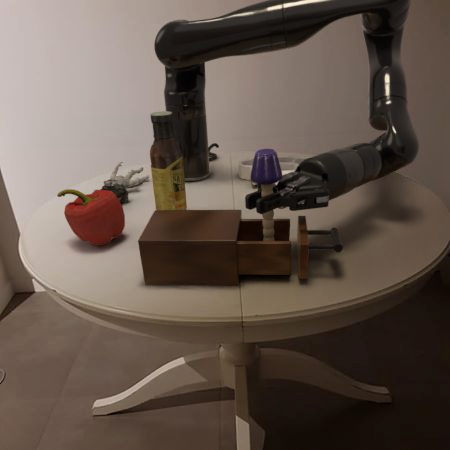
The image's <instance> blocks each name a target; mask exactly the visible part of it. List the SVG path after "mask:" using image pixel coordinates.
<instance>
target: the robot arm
mask: <svg viewBox="0 0 450 450" xmlns="http://www.w3.org/2000/svg"><path fill="white" fill-rule="evenodd" d="M411 2H412V0H262V1H259V2H256V3H253V4H250V5H246V6H244V7H241V8H238V9H236V10H233V11H231V12H228V13H226V14H222V15H220V16H215V17H212V18H205V19H195V20H188V19H175V20H172V21H169V22H167V23H165V24H164V25H162V27H161V28H160V29H159V30H158V32H157V34H156V36H155V39H154V42H153V43H154V44H153V50H154V54H155V56H156V58H157V60H158V61H159V62H160V63H161V64H162V65H163V66H164V74H165V84H164V88H163V97H164V107H165V111H168V112H172V114H173V122H172V123H173V133H174V138H175V140H176V142H177V145H178V147H179V149H180V151H181V154H182V157H183V168H184V179H185V182H197V181H202V180H204V179H207V178H208V177H210V175H211V169H210V162H212V161H214V160H215V159H217V157H218V155H217V153H215V152H211V150H212V149H213V148H217V149H218V148H220V145H219V144H218V143H217V142H214V143H211V144H210V145H209V138H208V136H209V135H208V123H207V122H208V121H207V109H206V108H207V107H206V82H207V81H206V80H207V79H206V63H208V62H211V61H214V60H218V59H219V60H220V59H223V58H230V57H242V56H253V55H260V54H267V53H268V54H269V53H274V52H279V51H284V50H289V49H294V48H296V47H299V46H300V45H302V44H304V43H306V42H307V41H309V40H310V39H311V38H313V37H315V35H317V34H318V33H320V32H321V31H322V30H323V29H325V28H326V27H327V26H329V25H331V24H333V23H335V22H337V21H340V20H342V19H344V18H349V17H353V16H356V15H358V16H359V22H360V27H361V31H362V36H363V39H364V40H363V41H364V44H365V48H366V55H367V62H368V63H367V64H368V71H367V72H368V73H367V74H368V75H367V118H368V124H369V125H370V127H371V128H372V129H374V130H377V131H380V132H381V131H382V132H383V131H384V133H382V134H380V135H379V136H377V137H376V138H374V139H372V140H371V141H369V142H358V143H355V144H351V145H348V146H345V147H341V148H336V149H335V148H334V149H332V150H328V151H326V152H323V153H320V154H317V155H313V156H311V157H309V158H308V159H305V160H303V161H302V162H301V163H300V164H299V165H298V167H297V169H296V170H295V171H294V172H290V173H288V174H284V175H283V176H282V179H281V180H280V181H279V182H277V183H273V188H272V190H273V193H272V194H269V195H267V196H264V197H262V196H261V193H262V188H261V184H257V185H256V186H257V190H256V191H253V192H250V193H247V194H246V195H245V197H244V199H245V201H244V205H245V208H246V209H247V210H249V211H251V210H254V209H255V210H256V211H255V212H256V213H257V214H259V215H262V214H264V213H266V212H269V211H271V210H273V211H274V210H276V209H279V210H284V209H287V208H288V210H289V211H290V212H291V211H292V212H297V211H305V210H313V209H322V208H327V207H329V202H330V201H332V200H335V199H337V198H339V197H341V196H345V195H346V194H348V193H350V192H351V191H353V190H354V189H356V188H359V187H362V186H364V185H366V184H368V183H371V182H374V181H377V180H380V179H382V178H385V177H387V176H389V175H392V174H393V173H395V172H397V171H399V170H401V169H403V168H405V167H407V166H409V165H411V164H412V163H414V162H415V160H416V159H417V157H418V155H419V152H420V147H421V146H420V139H419V136H418V134H417V132H416V129H415V127H414V123H413V121H412V118H411V115H410V113H409V103H408V101H409V100H408V83H407V76H406V72H405V69H404V65H403V62H402V43H403V42H402V41H403V36H404V30H405V25H406V22H407V20H408V17H409V14H410V13H409V11H410V7H411ZM385 131H386V132H385Z"/></svg>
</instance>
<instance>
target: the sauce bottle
mask: <svg viewBox="0 0 450 450" xmlns="http://www.w3.org/2000/svg"><path fill="white" fill-rule="evenodd" d="M150 121H151V124H152V131H153V132H152V133H153V141H152V142H153V143H152V144H151V146H150V150H149V159H150V170H151V171H150V172H151V181H152V189H153V196H154V197H153V198H154V203H155V210H187V208H188V202H187V191H186V181H185V179H184V168H183V157H182V154H181V151H180V149H179V147H178V145H177V142H176V140H175V138H174V133H173V123H172V122H173V114H172V112H168V111H166V110H165V111H164V110H162V111H156V112H151V113H150Z"/></svg>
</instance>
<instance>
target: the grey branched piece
mask: <svg viewBox="0 0 450 450" xmlns="http://www.w3.org/2000/svg"><path fill="white" fill-rule="evenodd" d="M123 163H124V162H123V161H120V162H118V163H117V164H116V166H115V167H114V169H113V171H112V173H111V175H110V177H109V178H108V179H107V180H104V181H103V185H104V184H106V183H107V184H110V185H111V186H112V185H115V184H120V185H123V186H125V188H126V190H127V191H128V193H131V192H134V191H138V190H139V189H140V186H136V185H138V184H142V182H144V181H147V180H149V179H150V176H149V175H148V174H147V175H146V176H143V177H142V178H141V177H136V178H134V179H132V178H133V176H135V175H136V174H140V173H142V172H143V171H144V166H141V167H140V168H138V169H136V170H135V169H131V170H130V171H128V172H127V173H126V174H125V176H123V175H117V173H118V171H119V168H120V167H122V166H123ZM133 186H134V187H133Z"/></svg>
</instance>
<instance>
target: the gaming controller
mask: <svg viewBox="0 0 450 450" xmlns="http://www.w3.org/2000/svg"><path fill="white" fill-rule="evenodd" d="M97 190H98V189H94V190H93V192H92V193H91V194H93V193H94V192H95V191H97ZM99 190H108V191H112V192H113V193H114V194H115V195H116V196H117V198H118V199H119V201H120V202H123V203H125V204H127V203H128V201H129V192H128V191H127V190H126V188H125V186H123V185H120V184H115V185H112V186H111V185H110V184H107V183H106V184H104V183H103V186H102V187H101V188H100V189H99Z"/></svg>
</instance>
